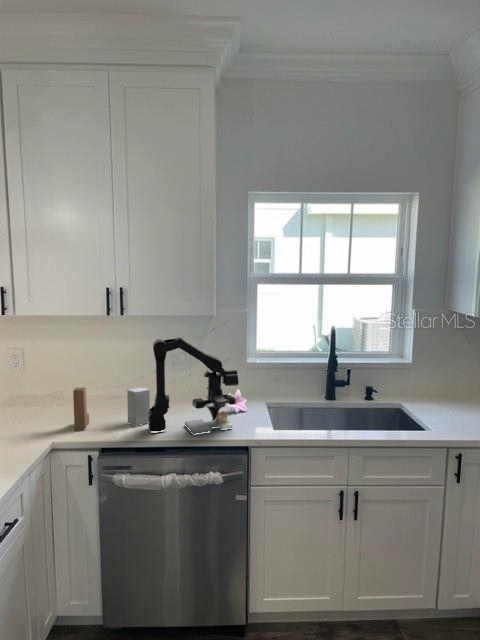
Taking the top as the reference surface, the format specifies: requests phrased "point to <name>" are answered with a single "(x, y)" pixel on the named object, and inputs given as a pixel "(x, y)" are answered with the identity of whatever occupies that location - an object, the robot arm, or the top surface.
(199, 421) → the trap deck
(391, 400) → the top surface
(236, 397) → the lily
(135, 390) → the skincare box
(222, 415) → the maple block
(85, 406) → the wooden block
